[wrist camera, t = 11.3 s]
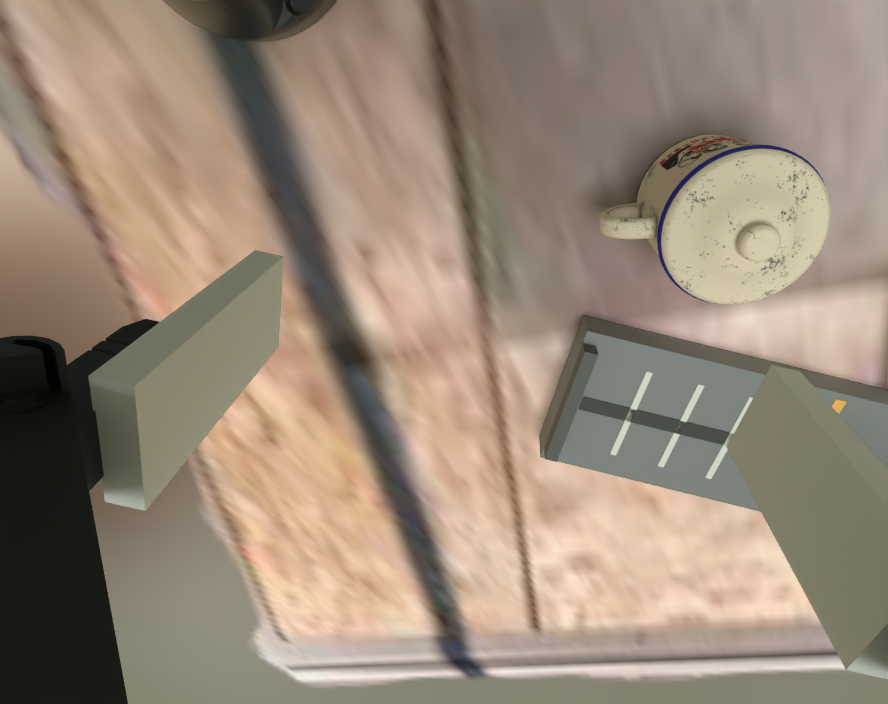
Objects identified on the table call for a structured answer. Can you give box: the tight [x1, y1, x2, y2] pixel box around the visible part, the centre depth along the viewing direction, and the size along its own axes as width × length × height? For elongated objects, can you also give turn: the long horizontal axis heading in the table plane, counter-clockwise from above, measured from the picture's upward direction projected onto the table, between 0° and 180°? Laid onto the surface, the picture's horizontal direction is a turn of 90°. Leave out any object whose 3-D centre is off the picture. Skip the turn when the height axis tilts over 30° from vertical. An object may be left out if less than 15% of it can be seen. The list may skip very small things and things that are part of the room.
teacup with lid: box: [599, 134, 831, 305], centre depth 35 cm, size 12×9×12 cm
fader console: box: [539, 315, 888, 512], centre depth 45 cm, size 12×27×4 cm, turn 78°
